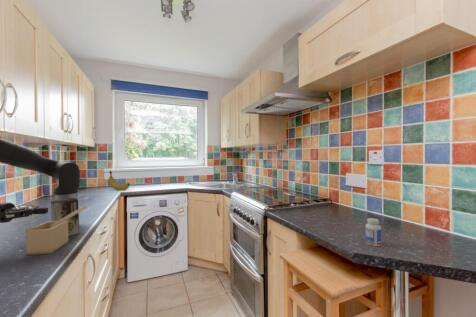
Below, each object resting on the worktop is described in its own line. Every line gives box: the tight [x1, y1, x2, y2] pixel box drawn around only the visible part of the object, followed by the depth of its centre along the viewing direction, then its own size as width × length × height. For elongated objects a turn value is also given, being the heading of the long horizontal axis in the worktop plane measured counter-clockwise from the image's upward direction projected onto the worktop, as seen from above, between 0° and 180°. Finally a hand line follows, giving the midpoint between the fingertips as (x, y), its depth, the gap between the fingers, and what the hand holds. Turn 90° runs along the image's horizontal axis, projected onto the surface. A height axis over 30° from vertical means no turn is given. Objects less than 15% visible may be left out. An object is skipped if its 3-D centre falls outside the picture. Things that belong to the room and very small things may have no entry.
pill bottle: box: [364, 217, 383, 247], centre depth 87 cm, size 6×5×10 cm
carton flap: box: [51, 205, 88, 227], centre depth 87 cm, size 10×1×9 cm
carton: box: [25, 221, 70, 256], centre depth 86 cm, size 11×8×9 cm
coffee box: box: [50, 198, 80, 237], centre depth 100 cm, size 9×6×16 cm
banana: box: [107, 170, 130, 191], centre depth 226 cm, size 23×6×20 cm, turn 83°
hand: (46, 210), depth 86 cm, fingers closed
